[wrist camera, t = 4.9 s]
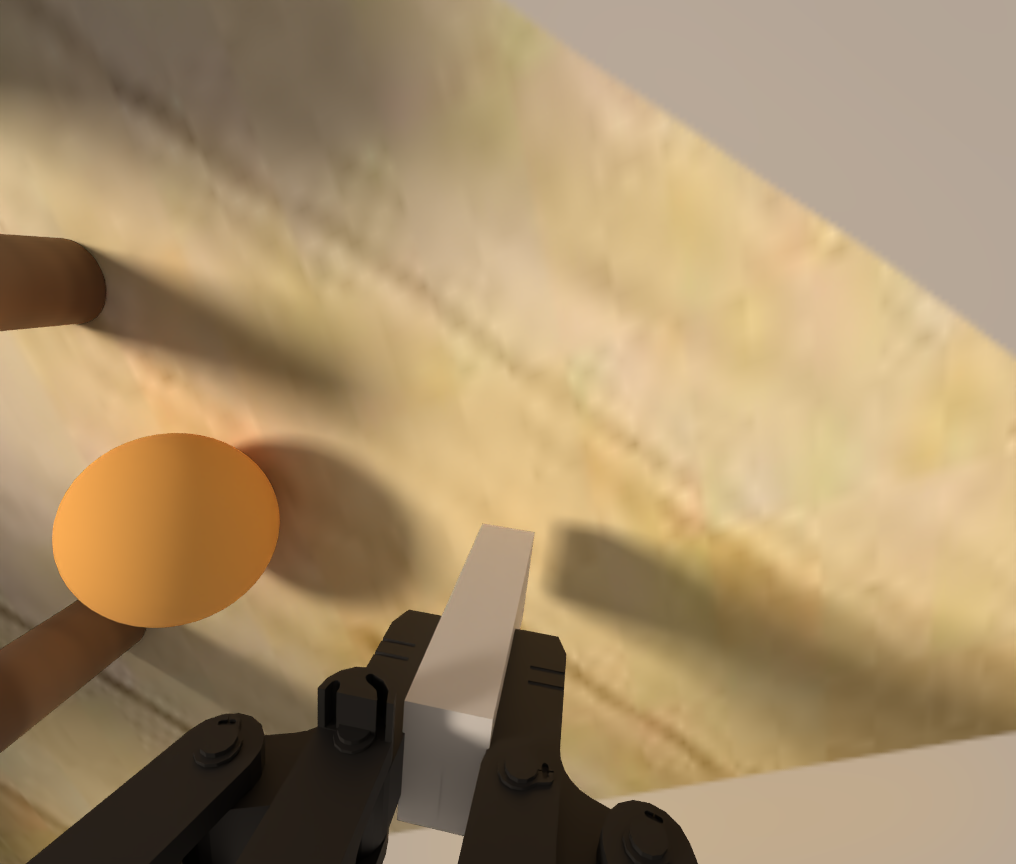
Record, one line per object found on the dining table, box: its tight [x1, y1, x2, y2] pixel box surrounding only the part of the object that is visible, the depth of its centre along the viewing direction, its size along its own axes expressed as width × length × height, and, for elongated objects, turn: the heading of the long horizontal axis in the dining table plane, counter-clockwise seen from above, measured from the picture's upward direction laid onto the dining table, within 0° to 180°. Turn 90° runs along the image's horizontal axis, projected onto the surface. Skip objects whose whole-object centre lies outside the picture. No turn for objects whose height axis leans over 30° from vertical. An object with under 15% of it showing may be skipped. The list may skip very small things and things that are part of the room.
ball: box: [52, 433, 280, 628], centre depth 15 cm, size 6×6×6 cm
